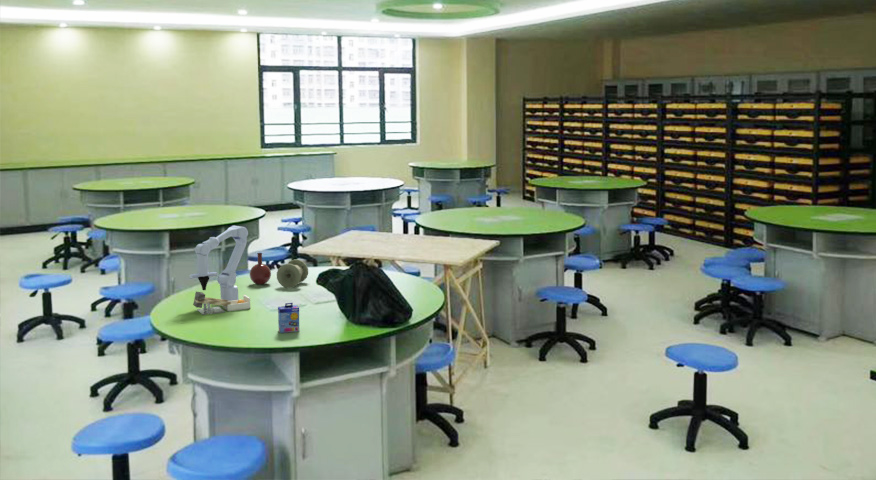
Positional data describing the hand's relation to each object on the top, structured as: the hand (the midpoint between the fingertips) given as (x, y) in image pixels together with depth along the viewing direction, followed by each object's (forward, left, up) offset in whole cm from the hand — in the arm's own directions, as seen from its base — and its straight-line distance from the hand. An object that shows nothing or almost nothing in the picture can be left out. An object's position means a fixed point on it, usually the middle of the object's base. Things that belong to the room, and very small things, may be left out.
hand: (204, 289), depth 420 cm
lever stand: (0, +13, -9) cm, 16 cm away
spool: (-62, -29, -10) cm, 69 cm away
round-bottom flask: (-45, -41, -10) cm, 62 cm away
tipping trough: (0, +10, -8) cm, 13 cm away
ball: (-17, +13, -7) cm, 22 cm away
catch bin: (-14, +13, -9) cm, 21 cm away
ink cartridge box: (-23, +72, -10) cm, 76 cm away
